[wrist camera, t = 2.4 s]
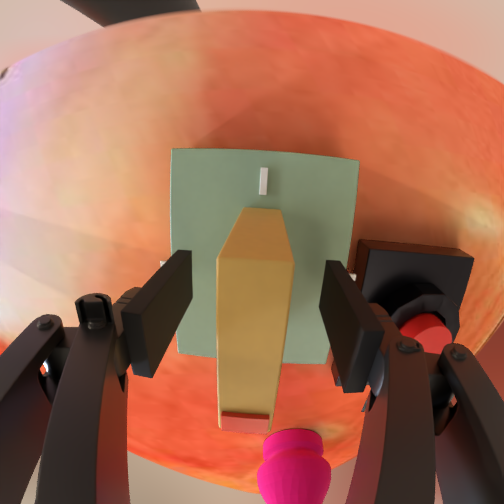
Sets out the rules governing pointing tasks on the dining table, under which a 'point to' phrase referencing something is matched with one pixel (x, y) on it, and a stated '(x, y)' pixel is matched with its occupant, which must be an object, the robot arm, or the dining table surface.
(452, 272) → the button block
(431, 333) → the button
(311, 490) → the pepper mill
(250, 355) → the handle
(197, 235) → the plate
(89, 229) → the dining table surface
